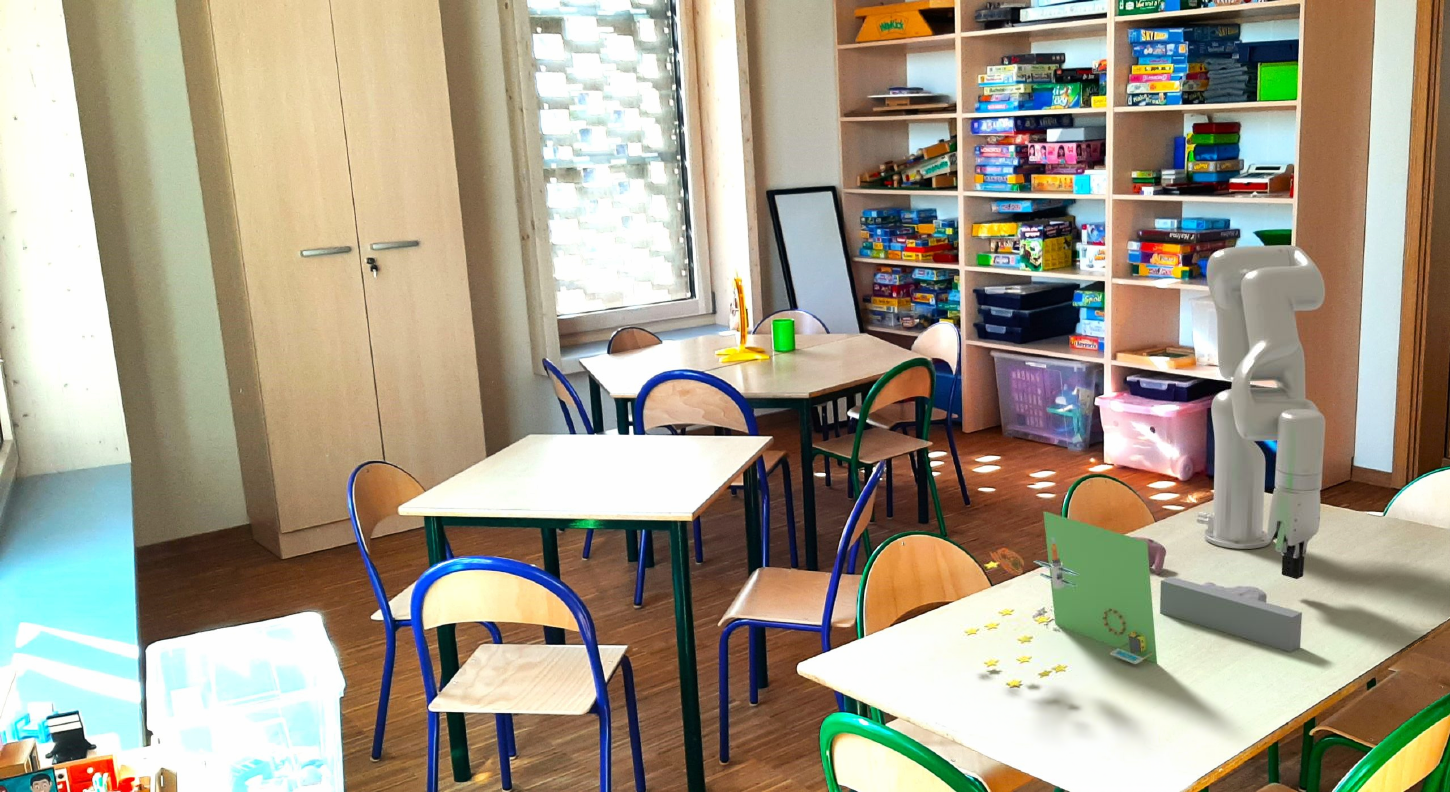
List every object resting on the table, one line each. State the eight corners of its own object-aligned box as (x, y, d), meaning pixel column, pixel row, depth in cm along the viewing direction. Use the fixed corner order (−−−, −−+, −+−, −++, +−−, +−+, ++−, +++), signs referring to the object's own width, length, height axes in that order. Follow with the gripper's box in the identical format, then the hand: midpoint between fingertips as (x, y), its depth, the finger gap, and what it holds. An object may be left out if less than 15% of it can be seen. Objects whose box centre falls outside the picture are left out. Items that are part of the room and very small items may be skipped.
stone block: (1258, 636, 215) (1269, 606, 223) (1257, 612, 214) (1268, 582, 221) (1186, 627, 222) (1199, 598, 229) (1185, 603, 220) (1197, 575, 228)
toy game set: (952, 678, 208) (935, 547, 202) (1057, 622, 220) (1044, 497, 214) (1050, 726, 190) (1035, 583, 184) (1159, 662, 202) (1148, 526, 196)
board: (1160, 612, 223) (1160, 580, 221) (1169, 608, 224) (1170, 576, 223) (1290, 652, 204) (1292, 617, 203) (1300, 646, 206) (1301, 612, 204)
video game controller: (1165, 577, 244) (1169, 541, 245) (1160, 574, 240) (1164, 537, 241) (1113, 570, 249) (1118, 535, 250) (1108, 566, 245) (1112, 531, 247)
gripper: (1299, 465, 230) (1293, 559, 234) (1255, 484, 221) (1250, 581, 226) (1340, 473, 224) (1333, 570, 229) (1296, 493, 215) (1290, 593, 220)
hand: (1292, 575), depth 227 cm, fingers closed
